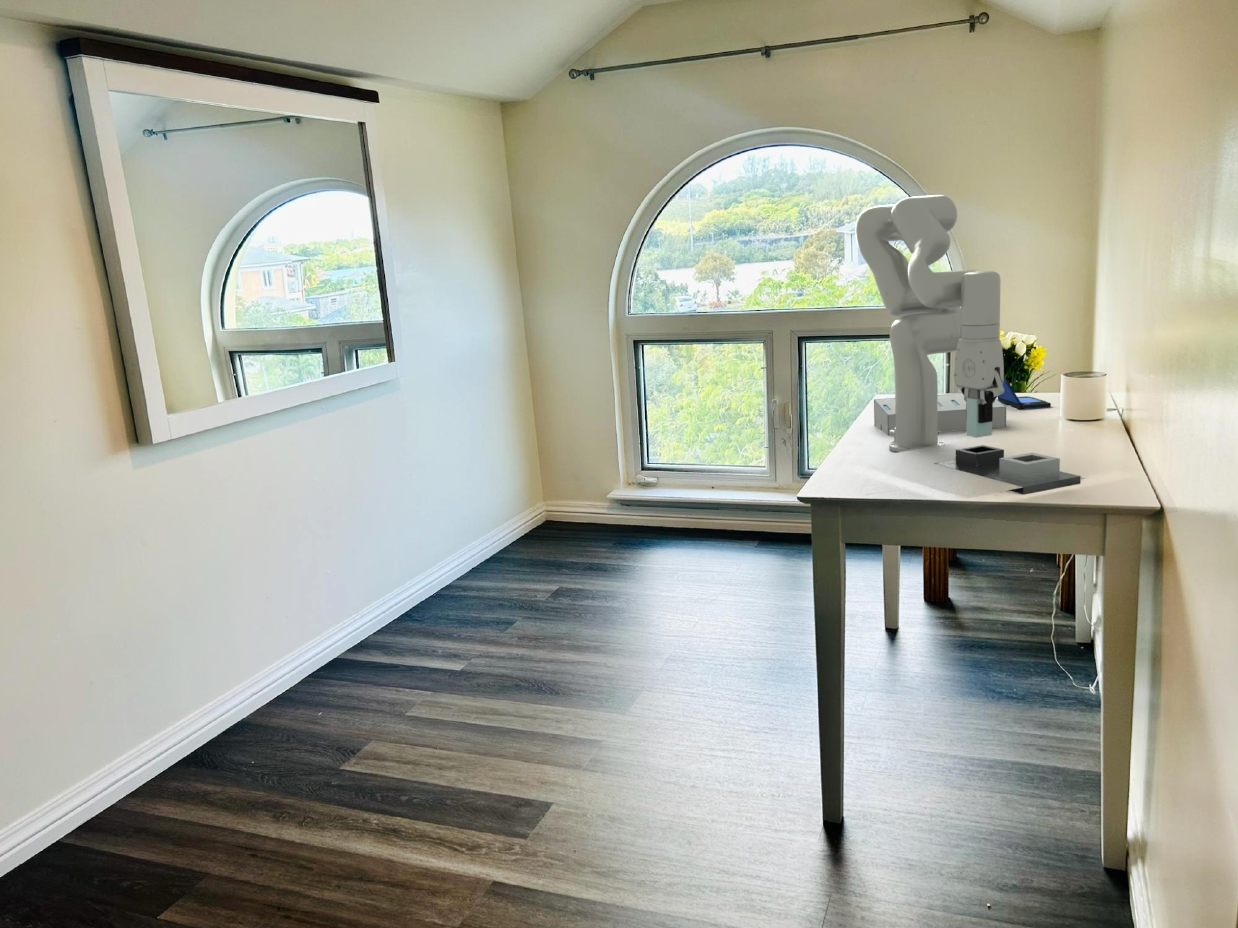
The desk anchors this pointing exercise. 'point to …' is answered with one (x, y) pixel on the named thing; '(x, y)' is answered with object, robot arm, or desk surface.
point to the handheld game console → (1020, 399)
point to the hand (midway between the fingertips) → (979, 420)
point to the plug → (976, 416)
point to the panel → (1013, 468)
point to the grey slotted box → (948, 413)
